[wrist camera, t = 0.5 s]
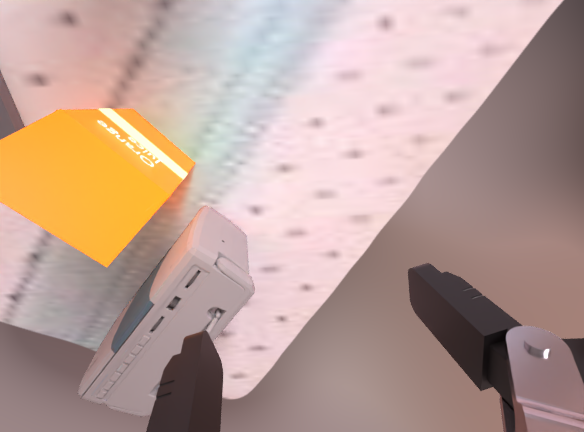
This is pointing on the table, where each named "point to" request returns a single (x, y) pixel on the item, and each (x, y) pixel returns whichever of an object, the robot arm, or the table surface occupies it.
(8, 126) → the pin tray
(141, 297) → the stereo radio cassette player
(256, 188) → the table surface
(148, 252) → the table surface
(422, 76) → the table surface
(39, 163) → the orange juice
